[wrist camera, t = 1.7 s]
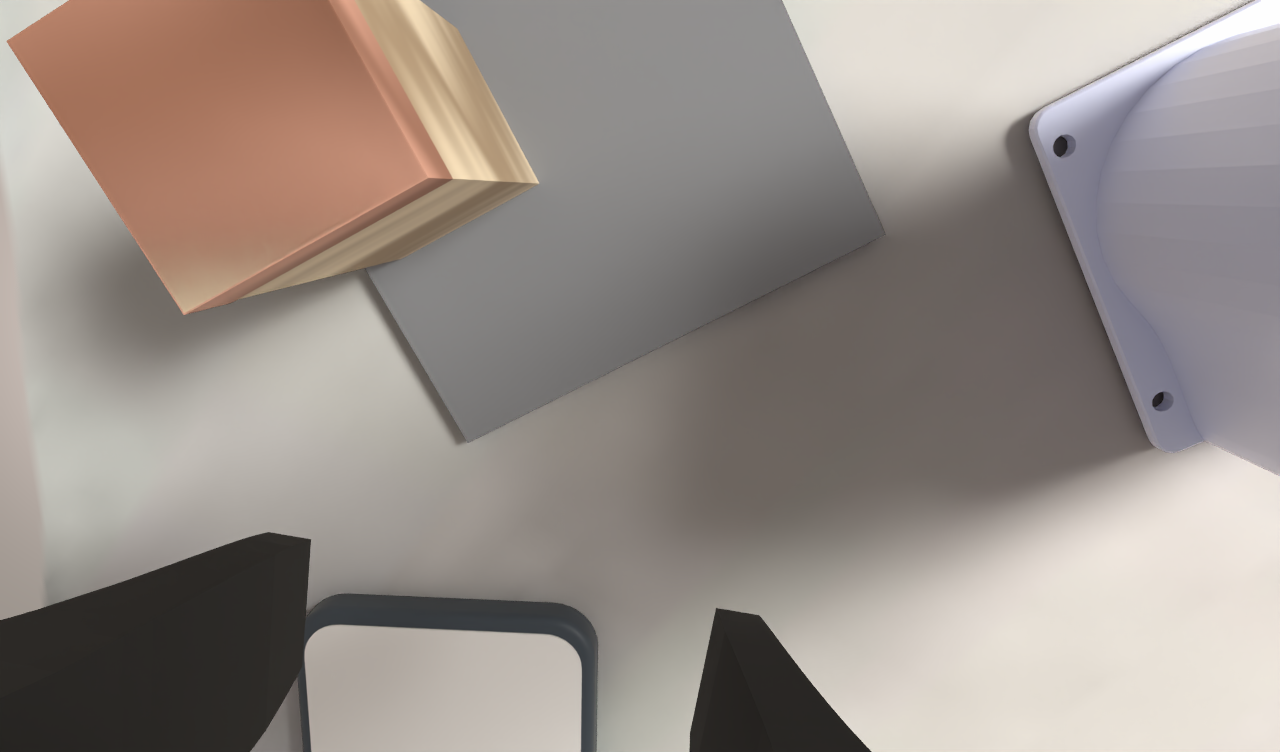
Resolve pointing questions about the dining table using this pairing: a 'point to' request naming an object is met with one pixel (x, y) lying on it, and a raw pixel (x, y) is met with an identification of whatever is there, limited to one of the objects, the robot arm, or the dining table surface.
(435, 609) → the phone case
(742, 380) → the dining table surface
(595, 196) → the rubber mat
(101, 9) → the birch block
